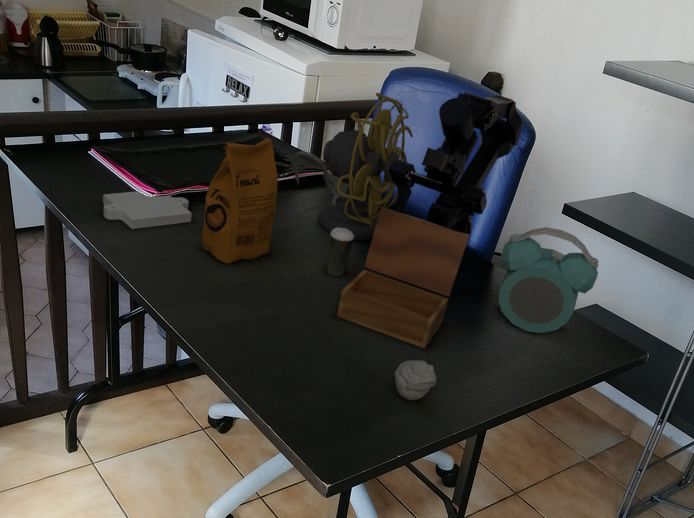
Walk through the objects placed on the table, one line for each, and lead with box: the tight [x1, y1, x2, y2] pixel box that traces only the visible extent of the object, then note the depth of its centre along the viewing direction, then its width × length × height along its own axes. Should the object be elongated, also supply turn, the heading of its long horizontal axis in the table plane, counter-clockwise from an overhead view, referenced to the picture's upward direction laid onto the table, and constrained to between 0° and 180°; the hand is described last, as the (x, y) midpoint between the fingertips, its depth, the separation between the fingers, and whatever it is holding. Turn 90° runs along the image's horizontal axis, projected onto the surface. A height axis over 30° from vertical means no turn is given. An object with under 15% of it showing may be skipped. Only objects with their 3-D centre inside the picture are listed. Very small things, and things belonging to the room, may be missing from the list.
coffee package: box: [200, 138, 279, 264], centre depth 142 cm, size 10×12×22 cm
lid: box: [363, 207, 471, 298], centre depth 136 cm, size 11×17×1 cm
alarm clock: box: [498, 226, 599, 334], centre depth 140 cm, size 17×10×20 cm, turn 71°
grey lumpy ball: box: [394, 359, 437, 401], centre depth 114 cm, size 6×7×7 cm
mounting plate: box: [102, 190, 193, 230], centre depth 155 cm, size 18×13×2 cm
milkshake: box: [326, 228, 360, 277], centre depth 146 cm, size 4×5×10 cm
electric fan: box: [292, 92, 414, 241], centre depth 165 cm, size 26×32×30 cm
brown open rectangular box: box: [336, 269, 449, 349], centre depth 134 cm, size 11×17×5 cm, turn 68°
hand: (418, 225), depth 140 cm, fingers open, 9 cm apart
